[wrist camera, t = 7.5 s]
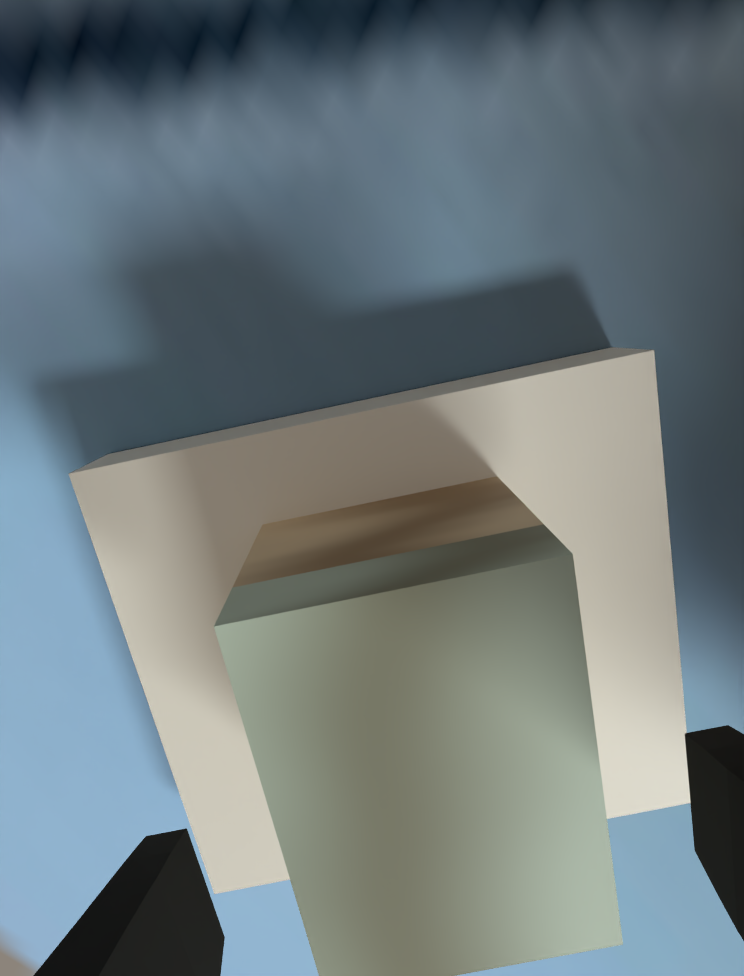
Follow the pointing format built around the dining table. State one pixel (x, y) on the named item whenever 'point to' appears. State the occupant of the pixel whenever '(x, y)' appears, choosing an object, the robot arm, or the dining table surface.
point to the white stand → (382, 475)
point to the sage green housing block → (425, 732)
